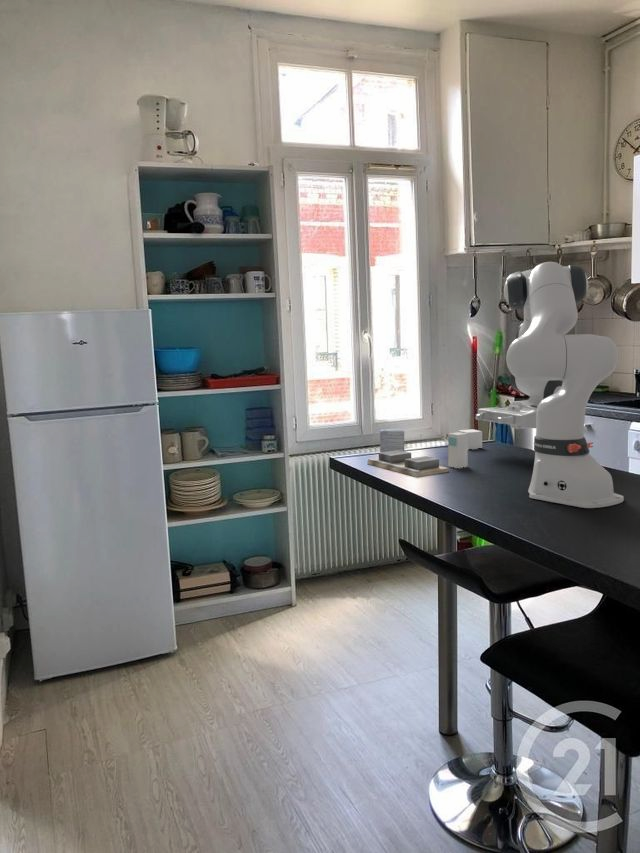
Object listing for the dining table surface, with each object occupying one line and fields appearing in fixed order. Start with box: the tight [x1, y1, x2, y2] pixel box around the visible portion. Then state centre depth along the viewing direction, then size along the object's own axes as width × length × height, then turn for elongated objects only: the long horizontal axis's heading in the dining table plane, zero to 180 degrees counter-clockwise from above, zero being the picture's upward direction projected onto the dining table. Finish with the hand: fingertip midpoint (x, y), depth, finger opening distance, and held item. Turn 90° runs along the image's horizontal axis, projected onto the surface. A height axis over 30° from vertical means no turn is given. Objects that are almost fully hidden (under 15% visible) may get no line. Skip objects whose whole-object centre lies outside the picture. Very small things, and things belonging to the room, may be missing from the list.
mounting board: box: [367, 450, 450, 478], centre depth 208 cm, size 24×12×4 cm, turn 31°
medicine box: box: [379, 428, 405, 453], centre depth 228 cm, size 8×4×9 cm, turn 84°
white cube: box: [457, 428, 483, 451], centre depth 239 cm, size 6×6×6 cm
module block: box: [447, 431, 469, 469], centre depth 208 cm, size 4×4×10 cm
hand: (487, 419), depth 213 cm, fingers open, 8 cm apart
